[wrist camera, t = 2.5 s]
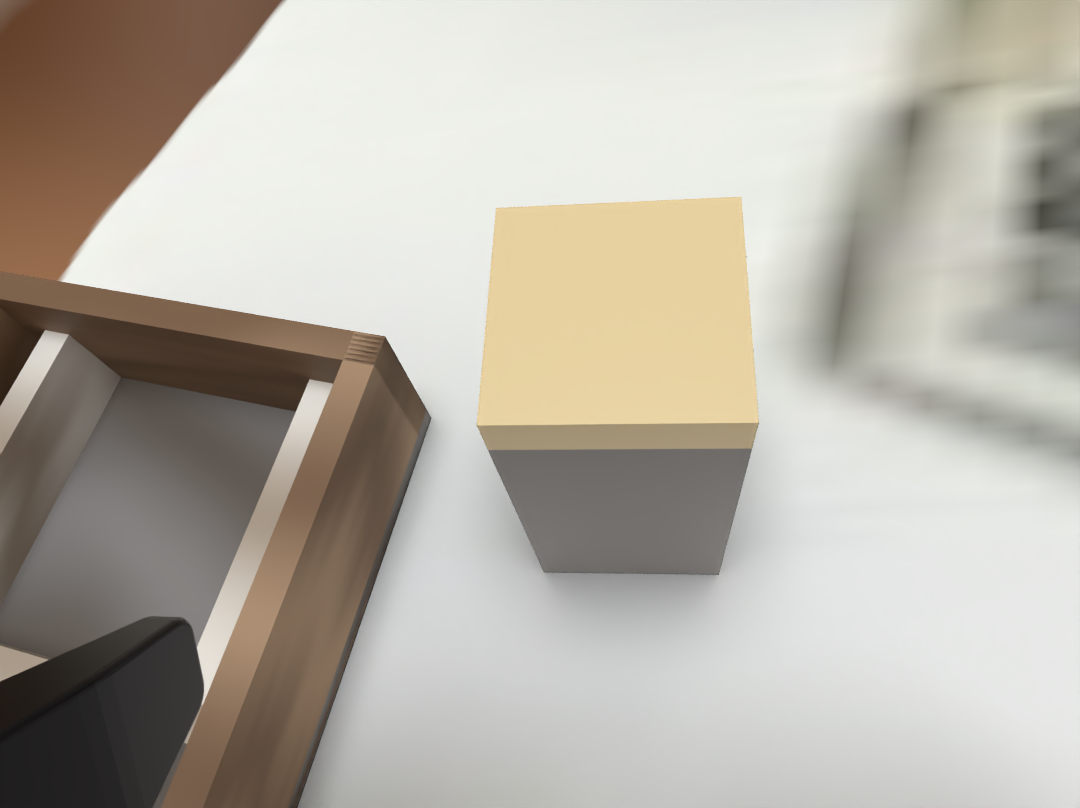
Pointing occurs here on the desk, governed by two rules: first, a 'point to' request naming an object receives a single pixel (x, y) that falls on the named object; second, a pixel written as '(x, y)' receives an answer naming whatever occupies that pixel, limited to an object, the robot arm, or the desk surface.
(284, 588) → the walled box
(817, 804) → the desk surface
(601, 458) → the tan lidded carton
